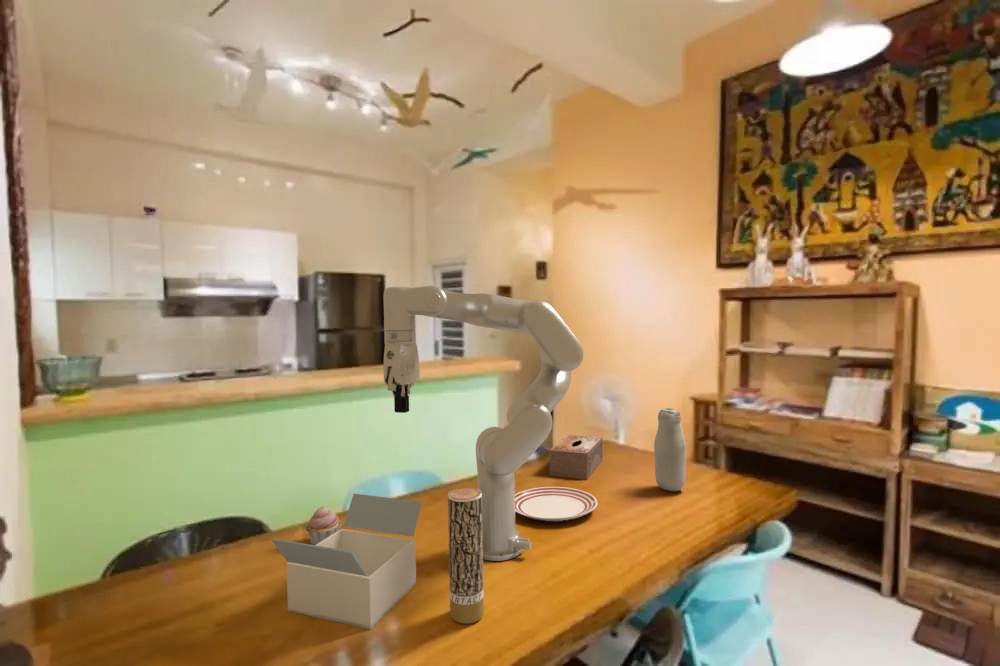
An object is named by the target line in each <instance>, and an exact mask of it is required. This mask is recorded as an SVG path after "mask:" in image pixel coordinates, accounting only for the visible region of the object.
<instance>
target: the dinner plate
mask: <svg viewBox="0 0 1000 666" xmlns="http://www.w3.org/2000/svg"><path fill="white" fill-rule="evenodd" d="M597 506H598V500H597V498H596V497H595V496H594V495H593V494H591V493H589V492H588V491H587V492H586V491H584V490H581V489H577V488H572V487H565V486H563V487H562V486H544V487H542V486H541V487H534V488H533V487H532V488H529V489H525V490H523V491H522V490H521V491H519V492H517V493H515V513H517V514H520V515H521V516H524V517H526V518H529V519H534V520H537V519H538V520H539V521H542V520H545V521H544V522H564V521H563V520H566V521H569V519H570V520H575V519H577V518H581V517H583V516H585V515H588V514H589V513H591V512H592V511H594V510H595V509H596V508H597ZM538 520H537V521H538Z"/></svg>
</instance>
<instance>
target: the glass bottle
mask: <svg viewBox="0 0 1000 666" xmlns="http://www.w3.org/2000/svg"><path fill="white" fill-rule="evenodd" d="M681 420H682V416H681V412H680V411H679V410H678V409H675V408H674V407H672V408H671V407H663V408H662V409H660V410H659V412H658V415H657V421H658V422H657V425H658V426H657V431H656V434H655V439H654V443H653V444H654V445H653V448H654V449H653V450H654V451H653V453H654V454H653V455H654V474H655V475H654V476H655V482H656V483H657V486H658V487H659V488H660V489H662V490H664V491H667V492H671V493H672V492H673V493H674V492H679V491H681V490H682V489H683V488H684V486H685V484H686V479H687V478H686V477H687V474H686V473H687V471H686V470H687V468H686V467H687V443H686V439H685V436H684V432H683V427H682V424H681Z"/></svg>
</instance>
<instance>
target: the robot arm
mask: <svg viewBox="0 0 1000 666" xmlns="http://www.w3.org/2000/svg"><path fill="white" fill-rule="evenodd" d="M416 316H424V317H428V318H435V319H436V318H437V319H442V320H447V321H455V322H456V321H457V322H462V323H466V324H469V325H473V326H475V327H476V326H477V327H482V328H487V329H488V328H489V329H495V330H500V331H508V332H512V333H513V332H514V333H520V334H525V335H526V334H527V335H532V337H533V339H534V340H535V342H536V343H537V344H538V345H539V347H540V348H539V357H540V361H541V364H540V365H541V368H540V371H539V374H538V376H537V377H536V378H535V379H534V381H532V383H531V384H530V386H529V385H528V387H527V389H525V391H523V392H522V394H521V395H520V396H519V397H517V399H515V401H514V402H513V403H511V405H510V406H509V408H508V410H507V413H506V421H507V424H506V425H505V426H504V427H503V428H502V427H499V426H490V427H487V428H485V429H484V430H482V431H481V432H480V434H479V435H478V437H477V439H476V443H475V458H476V471H477V472H476V473H477V489H479V490H480V491H481V492H482V528H483V560H486V561H492V562H501V561H508V560H511V559H514V558H516V557H518V556H519V555H520V554H521V553H522V550H527V551H531V550H532V542H531V541H530V538H529V537H521V536H520V530H518V529H517V530H516V512H515V494H516V480H515V479H516V478H515V472H517V470H519V468H520V467H522V466H523V465H524V463H526V462H527V460H528V459H530V457H531V456H532V455H533V454H534V453H535V452H536V451H537V450H538V448H539V447H540V446H541V445H542V444H543V443H544V442H545V441H546V440H547V438H548V437H549V435H550V433H551V430H552V429H553V417H552V414H551V412H552V411H553V410H554V409H555V408H556V407H557V405H558V404H559V403H560V402H561V401H562V400H563V399H564V397H565V396H566V394H567V392H568V390H569V388H570V384H571V379H572V371H574V370H576V369H577V368H579V366H581V364H582V362H583V360H584V350H583V346H582V344H581V342H580V340H579V339H578V338H577V337H576V336H575V334H574V332H573V331H571V329H570V328H569V327H568V325H567V324H566V323H565V321H564V320H563V319H562V317H561V316H560V315H559V313H558V312H557V311H556V310H555V309H554V308H553V306H552V305H551V304H549V303H548V302H546V301H543V300H528V299H522V298H521V299H519V298H514V297H509V296H503V295H498V294H493V293H483V292H482V293H464V292H456V291H449V290H444V289H442V288H441V287H439V286H436V285H424V286H417V287H410V286H409V287H408V286H389V287H387V288H385V289H384V291H383V318H384V319H383V326H384V328H383V329H384V332H383V333H384V352H383V381H384V383H385V384H386V385H387V391H389V392H392V396H393V400H394V401H393V404H394V405H393V406H394V407H393V408H394V413H402V414H405V413H408V412H410V394H411V388H412V387H413V386H414V385H415V383H417V382H418V381H420V374H421V371H420V359H419V351H418V346H417V341H416V340H417V337H416V336H417V335H416V334H417V332H416Z"/></svg>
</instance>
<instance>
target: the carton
mask: <svg viewBox="0 0 1000 666" xmlns="http://www.w3.org/2000/svg"><path fill="white" fill-rule="evenodd" d="M316 546H322V547H328V548H334V549H340V550H346V551H352V552H353V553H354V555H355V556H356V558H357V560H358V561H359V563H360V564H361V566H362V568H363V569H364V571H365V572H366V574H367V575H366V576H363V575H358V574H352V573H347V572H341V571H336V570H330V569H325V568H319V567H314V566H308V565H303V564H297V563H292V562H288V561H287V563H286V584H287V585H286V589H287V590H286V591H287V593H286V594H287V611H288V612H291V613H294V614H301V615H305V616H309V617H314V618H318V619H322V620H327V621H332V622H336V623H339V624H340V623H341V624H345V625H350V626H353V627H354V626H355V627H358V628H364V629H367V630H372V629H373V628H374V627H375V626H376V624H378V623H379V622H380V621H381V620H382V619H383V618H384V617H385V616H386V615H387V614H388V613H389V611H391V610H392V609H393V607H394V606H396V604H397V603H398V602H399V601H400V600H401V599H402V598H404V597H405V595H407V594H408V593H409V591H410V590H411V589H412V588H413V587H415V585H416V584H417V565H416V564H417V562H416V560H417V559H416V555H417V554H416V539H411V538H404V537H397V536H393V535H392V536H391V535H387V534H386V535H385V534H379V533H378V534H377V533H371V532H365V531H357V530H352V529H345V528H339V531H337V532H335V533H334V534H332V535H331V536H329V537H328V538H326V539H324V540H323V541H321V542H320V543H318V544H316Z"/></svg>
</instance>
